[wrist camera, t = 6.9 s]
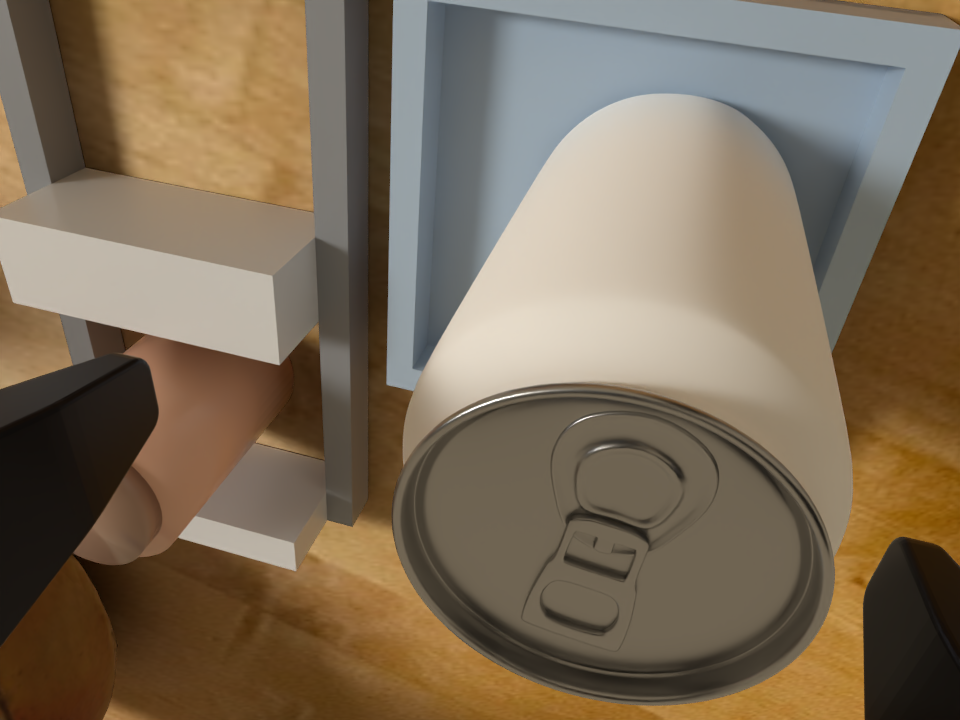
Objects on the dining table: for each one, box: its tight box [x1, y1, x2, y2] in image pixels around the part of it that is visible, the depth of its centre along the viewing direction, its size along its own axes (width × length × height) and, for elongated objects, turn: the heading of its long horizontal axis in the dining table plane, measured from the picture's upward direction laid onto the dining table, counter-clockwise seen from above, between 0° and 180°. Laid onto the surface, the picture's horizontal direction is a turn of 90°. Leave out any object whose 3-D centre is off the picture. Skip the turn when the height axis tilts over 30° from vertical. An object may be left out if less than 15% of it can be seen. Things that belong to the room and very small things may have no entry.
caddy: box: [0, 0, 368, 571], centre depth 20 cm, size 11×30×4 cm, turn 175°
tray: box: [387, 0, 960, 391], centre depth 20 cm, size 12×12×2 cm
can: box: [392, 94, 853, 706], centre depth 15 cm, size 6×6×12 cm
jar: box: [73, 334, 294, 565], centre depth 24 cm, size 5×5×8 cm
